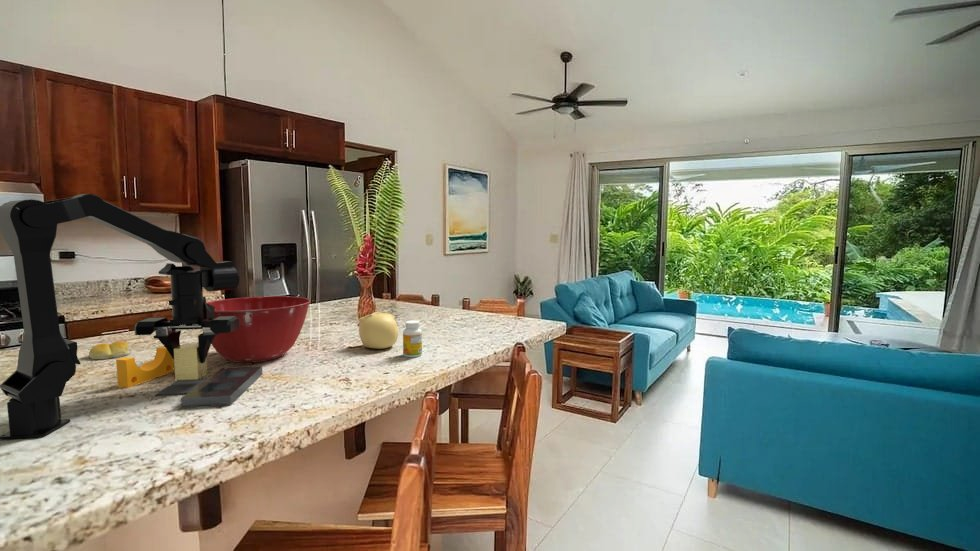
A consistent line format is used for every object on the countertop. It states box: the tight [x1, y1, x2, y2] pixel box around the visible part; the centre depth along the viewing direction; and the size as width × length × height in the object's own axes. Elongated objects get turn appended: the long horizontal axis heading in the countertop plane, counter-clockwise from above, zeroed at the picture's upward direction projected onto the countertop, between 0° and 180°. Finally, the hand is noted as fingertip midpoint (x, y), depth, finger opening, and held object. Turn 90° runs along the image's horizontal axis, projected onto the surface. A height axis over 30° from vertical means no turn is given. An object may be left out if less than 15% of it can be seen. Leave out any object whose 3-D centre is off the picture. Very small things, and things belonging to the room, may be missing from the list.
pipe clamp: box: [115, 345, 175, 388], centre depth 104 cm, size 12×4×6 cm, turn 172°
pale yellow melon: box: [358, 311, 399, 349], centre depth 136 cm, size 12×12×11 cm
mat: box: [154, 377, 209, 397], centre depth 100 cm, size 10×10×1 cm
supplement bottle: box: [402, 320, 423, 358], centre depth 127 cm, size 5×5×10 cm
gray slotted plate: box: [180, 365, 263, 409], centre depth 98 cm, size 20×9×2 cm, turn 11°
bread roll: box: [88, 340, 132, 360], centre depth 123 cm, size 8×9×4 cm
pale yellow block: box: [173, 342, 208, 381], centre depth 99 cm, size 4×4×7 cm
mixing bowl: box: [204, 295, 311, 364], centre depth 124 cm, size 28×28×15 cm
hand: (190, 363), depth 99 cm, fingers closed on pale yellow block, 4 cm apart
